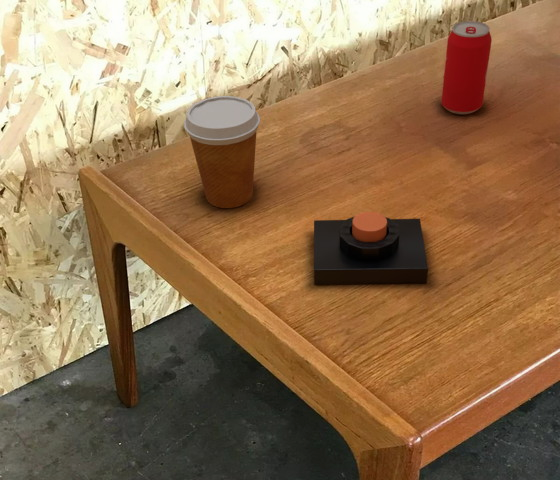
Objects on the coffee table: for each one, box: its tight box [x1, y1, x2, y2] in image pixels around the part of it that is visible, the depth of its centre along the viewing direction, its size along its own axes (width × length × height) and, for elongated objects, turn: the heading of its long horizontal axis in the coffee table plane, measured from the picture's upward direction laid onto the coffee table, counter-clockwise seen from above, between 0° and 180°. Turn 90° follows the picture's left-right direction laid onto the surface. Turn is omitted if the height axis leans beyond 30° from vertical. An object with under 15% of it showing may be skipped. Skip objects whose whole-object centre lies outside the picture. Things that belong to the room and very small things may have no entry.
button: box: [352, 211, 387, 242], centre depth 92 cm, size 4×4×2 cm
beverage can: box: [440, 20, 492, 115], centre depth 117 cm, size 6×6×12 cm
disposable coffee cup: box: [183, 95, 261, 209], centre depth 102 cm, size 10×10×12 cm
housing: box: [313, 215, 429, 286], centre depth 94 cm, size 13×10×4 cm
